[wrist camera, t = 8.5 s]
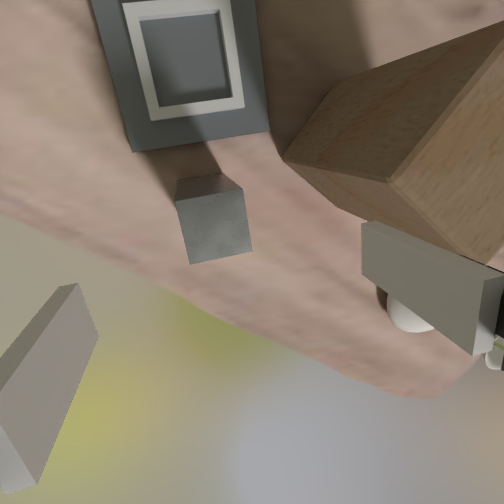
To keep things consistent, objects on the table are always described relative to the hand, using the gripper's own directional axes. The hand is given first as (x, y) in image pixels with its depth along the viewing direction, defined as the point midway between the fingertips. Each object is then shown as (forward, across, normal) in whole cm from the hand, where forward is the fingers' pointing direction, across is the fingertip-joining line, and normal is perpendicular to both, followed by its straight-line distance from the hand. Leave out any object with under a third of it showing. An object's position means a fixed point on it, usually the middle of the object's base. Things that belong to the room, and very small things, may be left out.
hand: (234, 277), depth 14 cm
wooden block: (+22, -16, -3) cm, 27 cm away
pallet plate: (+22, -1, -13) cm, 25 cm away
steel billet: (+22, 0, 0) cm, 22 cm away
